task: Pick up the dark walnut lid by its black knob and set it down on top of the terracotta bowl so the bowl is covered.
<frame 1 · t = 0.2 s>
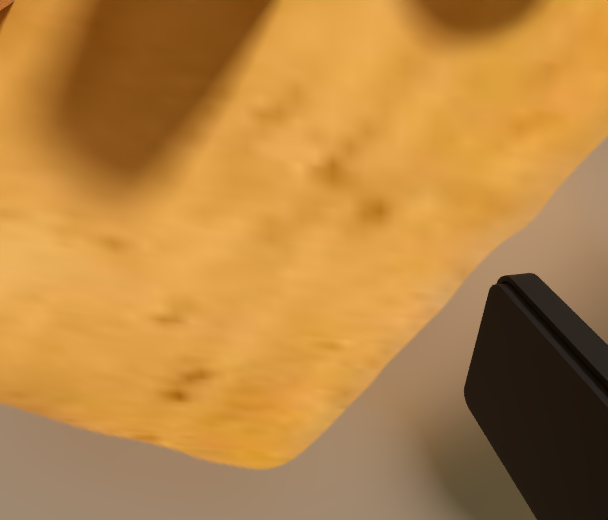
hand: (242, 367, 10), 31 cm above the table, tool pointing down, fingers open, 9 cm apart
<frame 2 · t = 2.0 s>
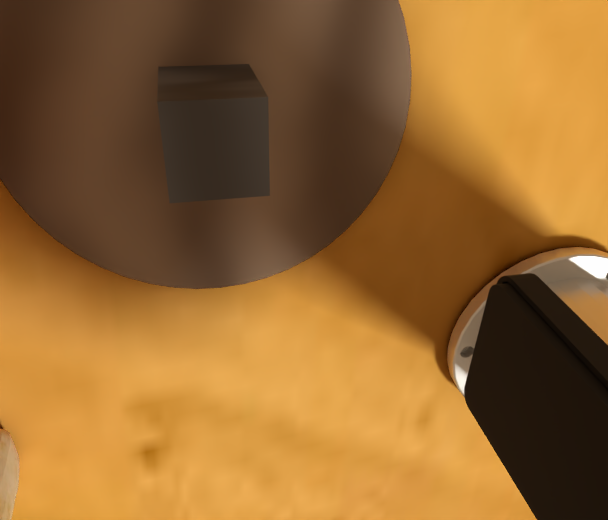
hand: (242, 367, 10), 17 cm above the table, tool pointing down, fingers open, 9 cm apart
lid: (206, 103, 24), on the table
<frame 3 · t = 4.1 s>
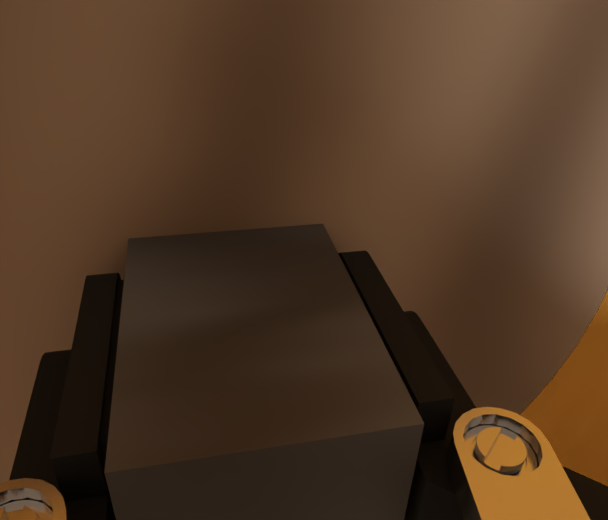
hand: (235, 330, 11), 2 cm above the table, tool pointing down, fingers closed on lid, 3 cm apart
lid: (227, 280, 12), on the table, touching gripper
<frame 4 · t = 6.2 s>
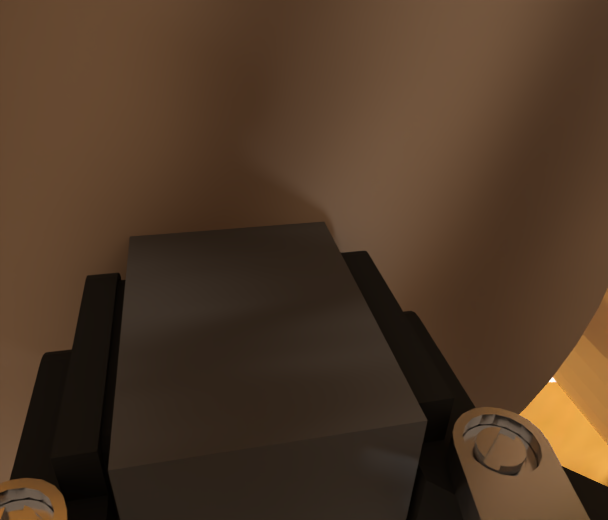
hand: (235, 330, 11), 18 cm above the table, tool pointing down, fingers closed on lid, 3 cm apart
lid: (228, 279, 12), point 16 cm above the table, touching gripper
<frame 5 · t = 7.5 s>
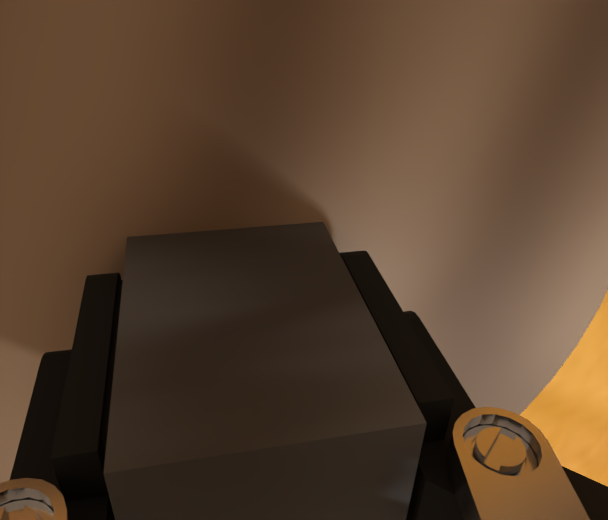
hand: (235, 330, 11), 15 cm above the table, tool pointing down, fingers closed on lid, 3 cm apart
lid: (227, 279, 12), point 14 cm above the table, touching gripper
when the fingers open (10 cm above the table, at t = 8.6 s): lid drops 1 cm, resting on bowl.
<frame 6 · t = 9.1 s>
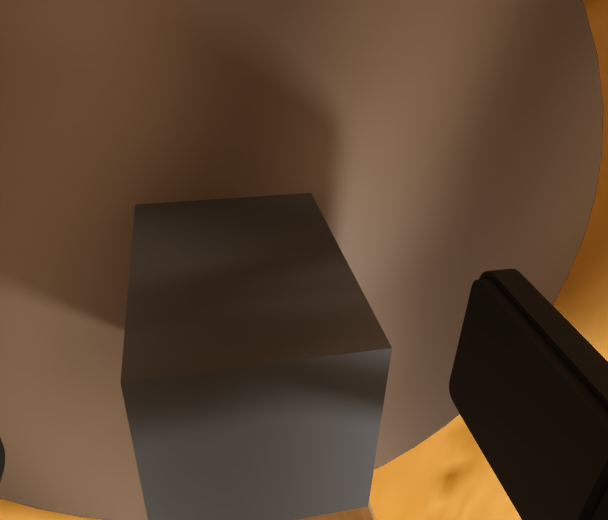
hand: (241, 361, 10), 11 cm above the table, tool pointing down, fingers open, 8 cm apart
food model: (282, 489, 30), on the table
lid: (224, 248, 13), point 7 cm above the table, touching bowl
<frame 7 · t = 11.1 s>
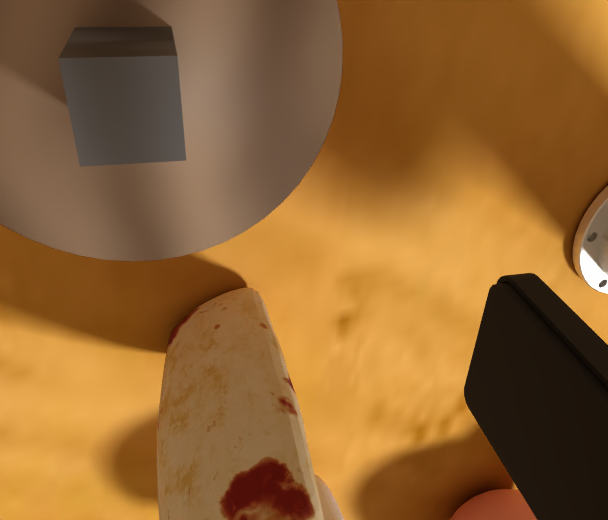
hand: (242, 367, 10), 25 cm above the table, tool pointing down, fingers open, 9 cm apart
balloon: (493, 490, 63), on the table
food model: (211, 322, 41), on the table
lid: (131, 68, 23), point 7 cm above the table, touching bowl
teacup: (287, 479, 53), on the table
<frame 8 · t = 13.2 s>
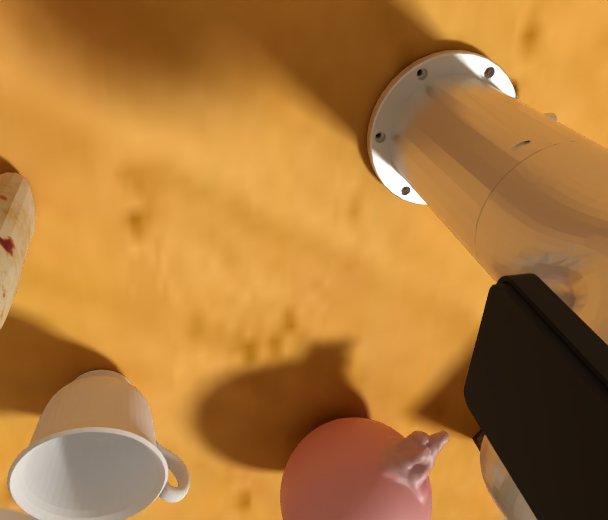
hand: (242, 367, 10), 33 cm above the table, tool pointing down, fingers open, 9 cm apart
balloon: (349, 422, 63), on the table
teacup: (115, 394, 53), on the table
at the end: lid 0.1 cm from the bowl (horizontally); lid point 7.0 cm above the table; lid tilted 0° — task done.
